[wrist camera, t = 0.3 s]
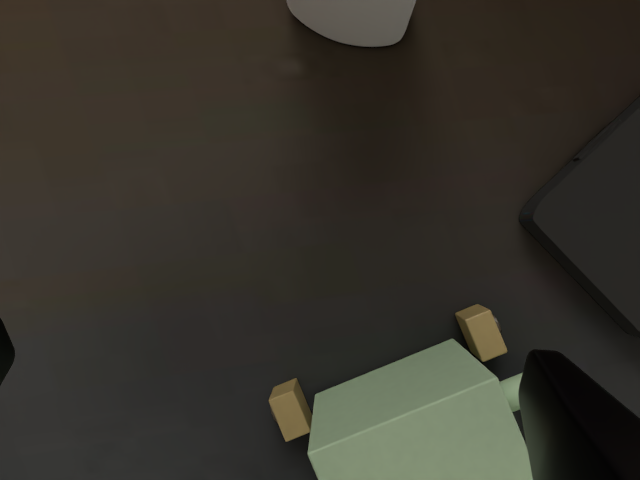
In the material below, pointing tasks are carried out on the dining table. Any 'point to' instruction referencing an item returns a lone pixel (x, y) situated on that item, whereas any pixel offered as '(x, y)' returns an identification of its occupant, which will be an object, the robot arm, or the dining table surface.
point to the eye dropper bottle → (355, 19)
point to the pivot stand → (478, 334)
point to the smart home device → (597, 218)
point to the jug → (420, 422)
